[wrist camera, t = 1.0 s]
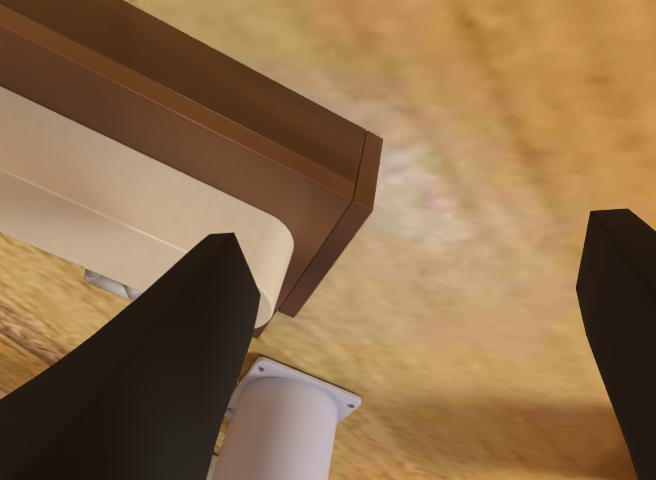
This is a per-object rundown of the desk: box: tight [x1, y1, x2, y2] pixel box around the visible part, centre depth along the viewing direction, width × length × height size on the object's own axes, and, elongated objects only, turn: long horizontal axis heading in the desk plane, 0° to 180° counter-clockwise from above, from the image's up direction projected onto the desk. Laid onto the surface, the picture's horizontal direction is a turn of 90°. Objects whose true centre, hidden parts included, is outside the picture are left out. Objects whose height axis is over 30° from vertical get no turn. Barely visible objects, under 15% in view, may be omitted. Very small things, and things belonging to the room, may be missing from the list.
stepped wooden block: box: [0, 0, 383, 338], centre depth 21 cm, size 15×16×5 cm
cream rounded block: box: [0, 86, 294, 328], centre depth 16 cm, size 6×13×3 cm, turn 64°
